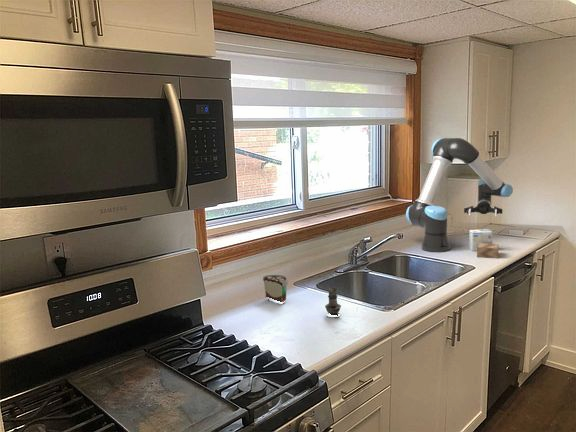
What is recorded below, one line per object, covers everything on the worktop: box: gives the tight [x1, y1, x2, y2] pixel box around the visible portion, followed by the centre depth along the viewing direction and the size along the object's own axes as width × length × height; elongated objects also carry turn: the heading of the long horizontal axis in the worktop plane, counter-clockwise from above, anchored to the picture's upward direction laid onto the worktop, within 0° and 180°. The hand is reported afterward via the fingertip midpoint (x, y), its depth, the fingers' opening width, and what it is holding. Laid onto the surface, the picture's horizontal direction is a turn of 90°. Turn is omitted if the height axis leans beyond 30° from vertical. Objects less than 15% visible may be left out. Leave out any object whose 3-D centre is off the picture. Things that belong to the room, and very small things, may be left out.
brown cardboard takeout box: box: [476, 243, 499, 259], centre depth 243 cm, size 10×10×5 cm
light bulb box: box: [468, 228, 493, 252], centre depth 254 cm, size 11×7×11 cm, turn 84°
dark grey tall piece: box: [324, 284, 342, 316], centre depth 173 cm, size 6×6×12 cm
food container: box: [262, 274, 289, 302], centre depth 191 cm, size 12×6×10 cm, turn 44°
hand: (482, 213), depth 260 cm, fingers open, 13 cm apart
